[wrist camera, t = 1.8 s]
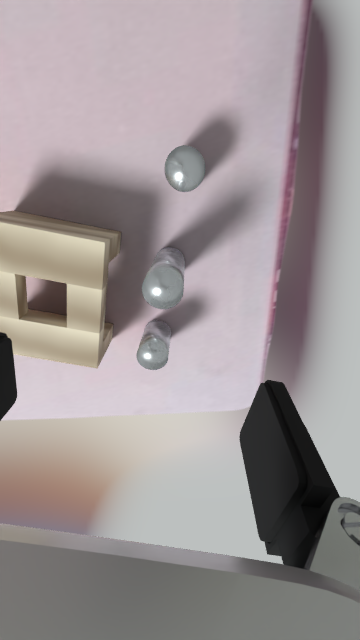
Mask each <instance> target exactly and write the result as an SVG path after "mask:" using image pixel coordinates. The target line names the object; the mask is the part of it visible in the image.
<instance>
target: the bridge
mask: <svg viewBox="0 0 360 640" xmlns="http://www.w3.org/2000/svg"><path fill="white" fill-rule="evenodd" d="M120 241H121V232H119V231H114V230H109V229H104V228H99V227H94V226H89V225H84V224H79V223H73V222H68V221H63V220H58V219H53V218H48V217H43V216H38V215H33V214H28V213H23V212H18V211H8V212H0V332H2V333H6V334H7V336H8V338H10V339H11V340H12V348H13V354H15V355H21V356H27V357H33V358H39V359H45V360H50V361H56V362H62V363H68V364H74V365H80V366H86V367H92V368H98V366H99V364H100V362H101V360H102V358H103V356H104V354H105V352H106V350H107V348H108V346H109V344H110V342H111V340H112V334H113V324H110V323H105V322H104V321H105V307H106V292H107V278H108V263H109V262H110V261H111V260H112V259H114V258H115V257H116V256H117V255H118V254H119V253H120ZM25 276H29V277H34V278H39V279H45V280H50V281H56V282H61V283H66V284H67V316H65V315H60V314H54V313H48V312H43V311H37V310H32V309H28V305H27V291H26V277H25Z"/></svg>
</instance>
